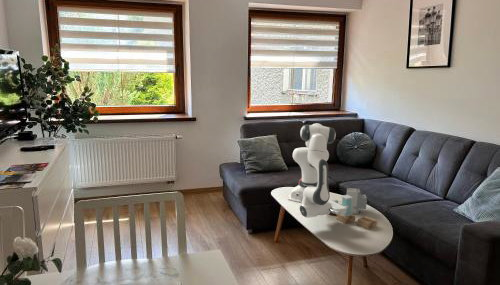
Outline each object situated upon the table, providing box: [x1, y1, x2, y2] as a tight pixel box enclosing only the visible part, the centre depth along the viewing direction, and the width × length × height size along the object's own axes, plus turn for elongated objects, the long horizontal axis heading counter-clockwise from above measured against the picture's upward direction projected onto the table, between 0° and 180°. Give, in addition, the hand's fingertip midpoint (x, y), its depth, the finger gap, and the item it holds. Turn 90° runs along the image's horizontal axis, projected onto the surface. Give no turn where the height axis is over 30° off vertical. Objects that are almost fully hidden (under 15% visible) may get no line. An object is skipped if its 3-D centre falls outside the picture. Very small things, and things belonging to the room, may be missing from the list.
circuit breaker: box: [345, 187, 370, 215], centre depth 247 cm, size 8×14×15 cm, turn 78°
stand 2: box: [356, 215, 378, 230], centre depth 226 cm, size 8×8×4 cm
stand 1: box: [336, 213, 356, 225], centre depth 233 cm, size 8×8×4 cm
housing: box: [341, 194, 353, 217], centre depth 231 cm, size 5×5×12 cm
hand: (342, 204), depth 229 cm, fingers open, 8 cm apart
